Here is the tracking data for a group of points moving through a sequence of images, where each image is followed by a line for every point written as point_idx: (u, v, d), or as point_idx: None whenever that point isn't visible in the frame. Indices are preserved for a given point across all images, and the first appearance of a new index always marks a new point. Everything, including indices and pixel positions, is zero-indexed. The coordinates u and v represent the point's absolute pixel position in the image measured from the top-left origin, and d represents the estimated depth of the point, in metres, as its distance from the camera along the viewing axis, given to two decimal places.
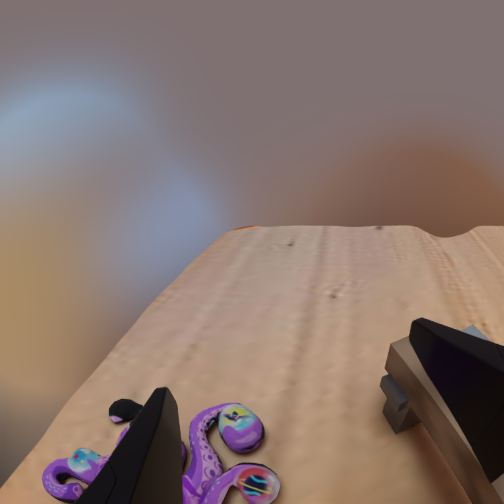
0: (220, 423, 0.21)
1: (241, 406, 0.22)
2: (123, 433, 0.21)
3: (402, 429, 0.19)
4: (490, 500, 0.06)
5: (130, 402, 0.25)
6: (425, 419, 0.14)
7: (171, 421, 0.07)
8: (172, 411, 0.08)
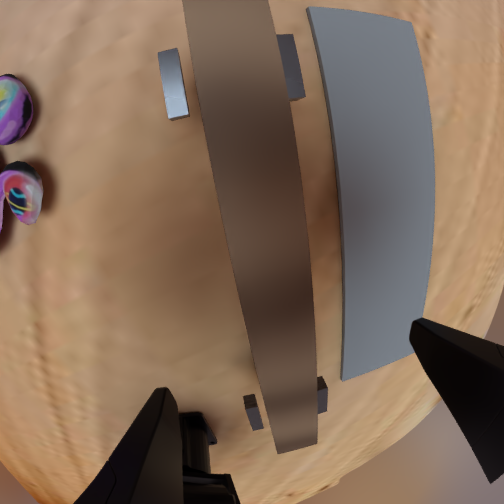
0: None
1: (3, 83, 0.10)
2: None
3: None
4: None
5: None
6: None
7: (171, 421, 0.07)
8: (172, 411, 0.08)
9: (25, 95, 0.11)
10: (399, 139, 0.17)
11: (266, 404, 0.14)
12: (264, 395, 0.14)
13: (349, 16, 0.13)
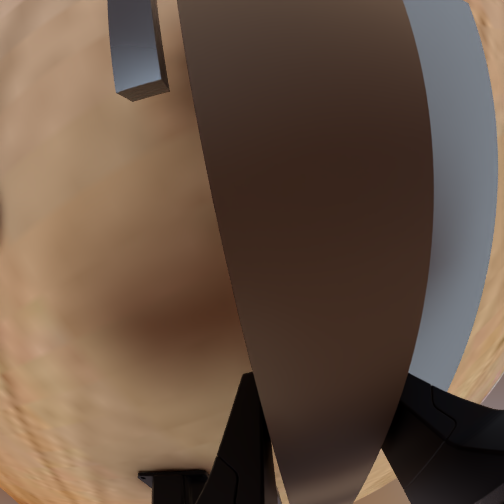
0: None
1: None
2: None
3: None
4: None
5: None
6: None
7: None
8: None
9: None
10: (466, 148, 0.11)
11: None
12: None
13: None
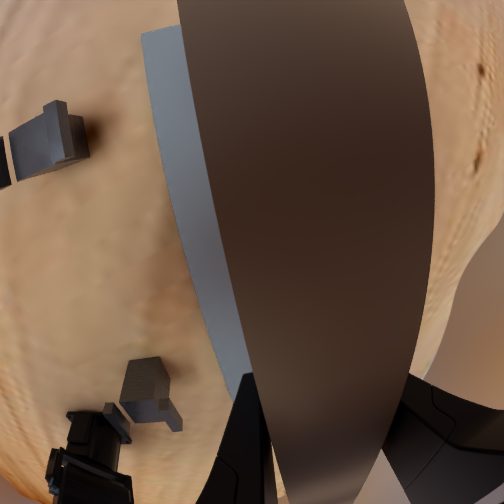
0: None
1: None
2: None
3: (58, 168, 0.15)
4: None
5: None
6: None
7: None
8: None
9: None
10: None
11: None
12: None
13: None
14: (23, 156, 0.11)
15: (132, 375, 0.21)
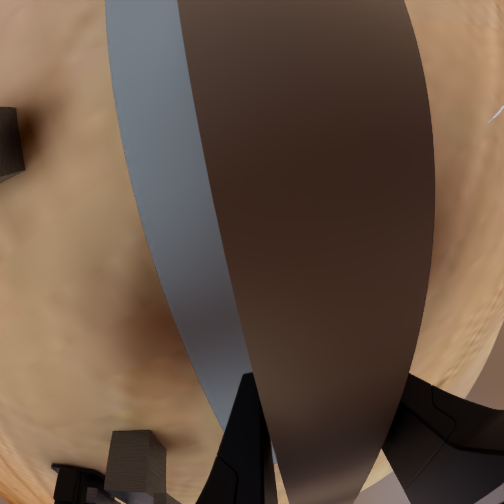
0: None
1: None
2: None
3: None
4: None
5: None
6: None
7: None
8: None
9: None
10: None
11: None
12: None
13: None
14: None
15: (117, 454, 0.13)
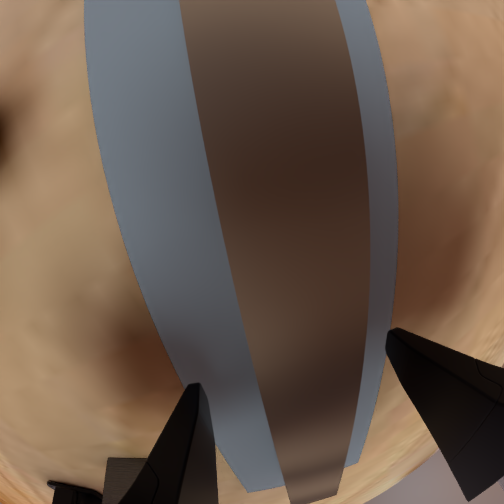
0: None
1: None
2: None
3: None
4: None
5: None
6: None
7: (206, 417, 0.08)
8: (205, 407, 0.08)
9: None
10: None
11: (285, 477, 0.10)
12: (283, 471, 0.09)
13: None
14: None
15: (114, 482, 0.11)
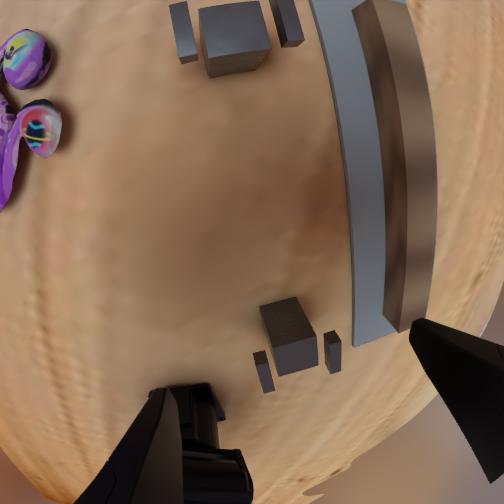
0: (3, 65, 0.10)
1: (22, 34, 0.09)
2: None
3: (217, 75, 0.15)
4: (399, 212, 0.18)
5: None
6: (375, 87, 0.16)
7: (171, 421, 0.07)
8: (172, 411, 0.08)
9: (45, 42, 0.10)
10: None
11: (407, 262, 0.19)
12: (407, 251, 0.18)
13: None
14: (222, 33, 0.10)
15: (273, 318, 0.21)
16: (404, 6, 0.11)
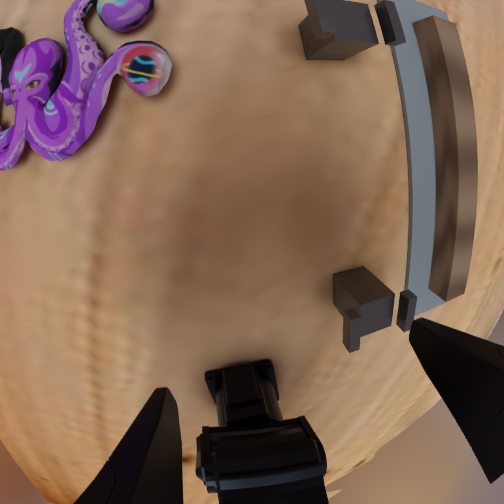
0: (98, 3, 0.11)
1: None
2: None
3: (316, 58, 0.16)
4: (450, 191, 0.19)
5: None
6: (431, 88, 0.17)
7: (171, 421, 0.07)
8: (172, 411, 0.08)
9: None
10: None
11: (456, 234, 0.20)
12: (457, 224, 0.19)
13: (405, 2, 0.14)
14: (344, 23, 0.12)
15: (351, 283, 0.21)
16: (454, 25, 0.13)
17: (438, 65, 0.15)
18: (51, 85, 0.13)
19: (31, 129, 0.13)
